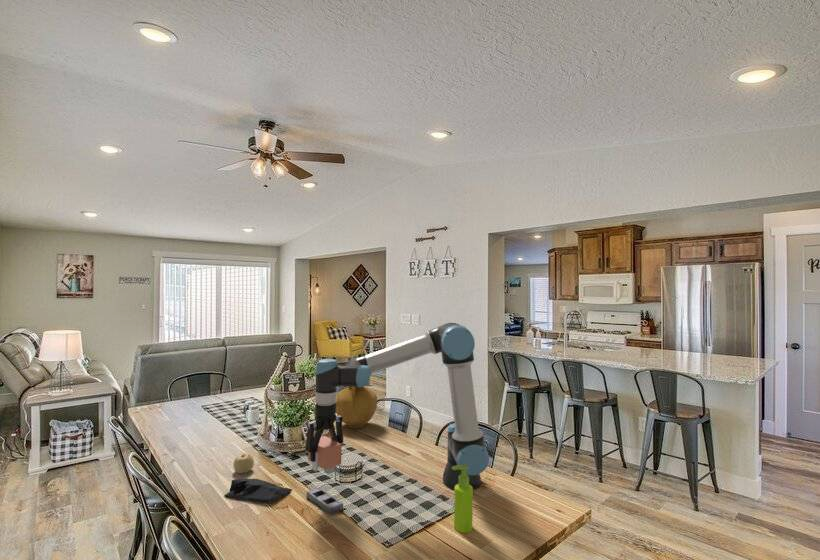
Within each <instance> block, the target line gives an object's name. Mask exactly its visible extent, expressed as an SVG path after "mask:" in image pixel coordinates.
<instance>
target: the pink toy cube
mask: <svg viewBox="0 0 820 560" xmlns="http://www.w3.org/2000/svg"><path fill="white" fill-rule="evenodd" d="M342 445H343V443H341V444H340V443H338V442H336V441H334V440H332V439H331V437H328V436H326V435H324V436H321V438H320V441H319V444H318V448H317V452H318V468H321V469H322V470H323V473H325V474H326V475H330V474H333V473H335V472H336V466H337V467H338V466H340V465H342V451H343V450H342V447H343V446H342ZM310 454H311V453H310V452H308V451H307V460H308V461H309V462H311V463H312V461H311V460H310Z"/></svg>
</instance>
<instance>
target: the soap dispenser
mask: <svg viewBox="0 0 820 560" xmlns="http://www.w3.org/2000/svg"><path fill="white" fill-rule="evenodd" d="M452 469H453V470H458V469H461V475H459V484H457V485H455V489H454V503H453V504H454V505H453V506H454V509H453V510H454V512H453V513H454V514H453V516H454V517H453V522H454V523H453V528H454V530H456V532H458V533H462V534H463V533H464V534H465V533H470V532H471V531H472V530H473V504H474V503H473V500H474V499H473V495H474V493H473V491H474V489H473V487H472V486H471V485H469V476H468V475H466V470H469V468H468V466H467V465H456V466H452Z"/></svg>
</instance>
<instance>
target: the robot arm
mask: <svg viewBox="0 0 820 560" xmlns="http://www.w3.org/2000/svg"><path fill="white" fill-rule="evenodd" d="M475 345H476V343H475V338H474V336H473V333H472V332H471V331H470V330H469V329H468V328H467V327H465V326H463V325H460V324H458V323H456V322H446V323H444V324H442V325H440V326H437V327H435V328H432V329H430V330H426V332H425V334H423V335H420V336H417V337H415V338H414V337H413V338H411V339H409V340H406V341H402V342H401V343H397V344H393V345H392V346H389V347H386V348H383V349H380V350H377V351H373V352H371V353H368V354H365V355H363V356H360V357H352V358H350V360H349V361H347V363H346V365H339V364H338V361H337V360H336V359H334V358H322V359H319V360H318V361H317V362H316V363H315V364H316V365H315V367H316V368H315V401H314V402H315V404H314V415H315V417H314V419H313V421H308V422H307V423H306V426H307V433H306V440H305V451H306V452H307V453H308V452H310V453H311V454H310V460H311V461H312V462H311V461H310V462H311V469H312V470H313V471H314V472H318V471H319V467H318V452H317V448H318V444H319V441H320V438H321V437H322V435H323V433H324V431H326V430H328V433H329V437H330V439H332V440H334V441H336V442H338V443H340V444H343V443H344V433H343V432H344V431H343V430H344V429H343V422H342V420H343V417H342V416H339V415H337V413H336V403H335V402H336V401H337V394H338V392H337V389H338V387H339V388H340V387H341V388H342V387H343V388H344V387H345V388H348V387H369V386H370V383H371V374H374V373H377V372H380V371H383V370H386V369H389V368H392V367H395V366H398V365H399V364H403V363H405V362H408V361H411V360H414V359H418V358H420V357H424V356H425V355H429V354H433V355H437V354H439V353H440V354H441V359H442V365H444V366H445V367H446V369H447V373H448V383H449V390H450V397H451V405H452V406H451V407H452V414H453V415H452V416H453V421H454V422H453V423H450V424H449V425H448V427H447V459H446V460H447V462H446V465H445V468H444V471H443V474H442V482H443V484H444V485H445V486H446V487H447V488H450V489H451V490H455V485H457V484H459V475H461V469H458V470H453V469H452V466H456V465H467V466H468V468H469V470H466V475H468V476H469V485H471V486H472V487H473V490H477V488H480V487H481V483H482V482H481V481H482V478H481V474H482V473H483V472H485V470H486V469H487V468H488V466H489V463H490V455H489V452H488V450H487V448H486V444H485V437H484V432H483V430H481V429H480V428H479V422H478V414H477V407H476V398H475V390H474V379H473V373H472V364H473V362H474V361H475V357H474V350H475Z"/></svg>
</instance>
